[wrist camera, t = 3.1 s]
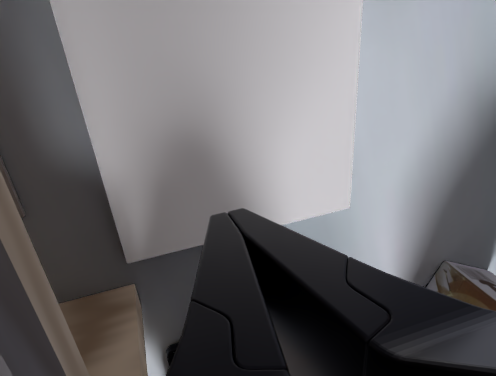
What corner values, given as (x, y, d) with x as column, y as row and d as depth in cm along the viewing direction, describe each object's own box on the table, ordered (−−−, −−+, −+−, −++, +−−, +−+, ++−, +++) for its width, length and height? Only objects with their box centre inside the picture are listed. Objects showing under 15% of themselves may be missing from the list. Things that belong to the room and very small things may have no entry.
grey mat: (368, -222, 15) (377, -229, 15) (345, 203, 25) (349, 208, 24) (-19, -240, 12) (-25, -251, 11) (126, 257, 21) (127, 263, 21)
